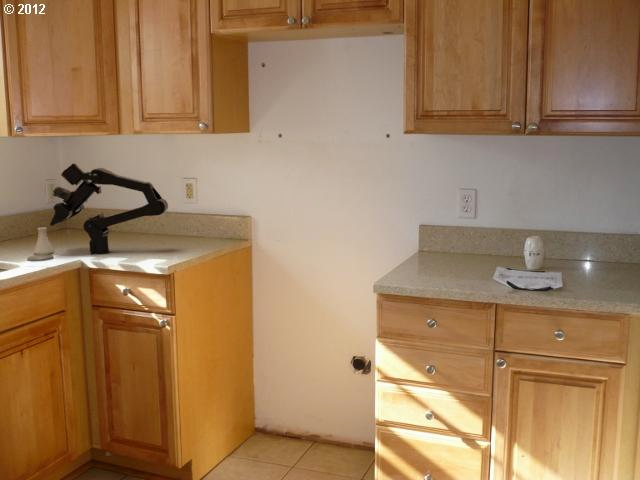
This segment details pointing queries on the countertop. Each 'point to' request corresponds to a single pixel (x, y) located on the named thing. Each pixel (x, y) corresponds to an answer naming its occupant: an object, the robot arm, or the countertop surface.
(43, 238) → the flask
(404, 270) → the countertop surface
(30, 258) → the slate coaster
